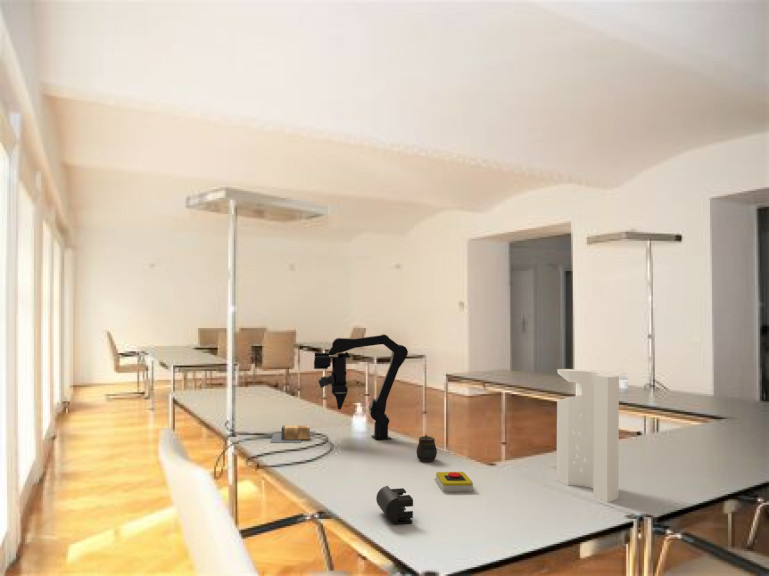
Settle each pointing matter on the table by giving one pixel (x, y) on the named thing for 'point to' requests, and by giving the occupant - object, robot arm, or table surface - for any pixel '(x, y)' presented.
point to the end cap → (395, 505)
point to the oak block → (295, 432)
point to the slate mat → (277, 439)
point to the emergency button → (454, 483)
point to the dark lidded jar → (426, 449)
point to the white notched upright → (589, 433)
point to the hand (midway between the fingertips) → (339, 407)
